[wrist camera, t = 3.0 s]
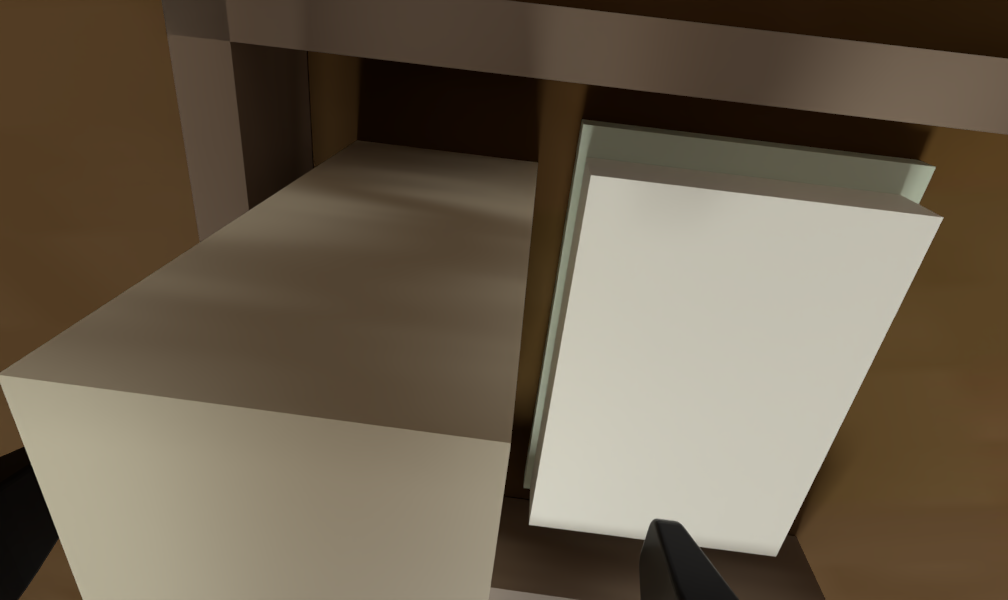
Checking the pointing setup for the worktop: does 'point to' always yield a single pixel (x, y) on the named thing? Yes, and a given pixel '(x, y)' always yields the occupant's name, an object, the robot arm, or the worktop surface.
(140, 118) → the worktop surface
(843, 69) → the rack
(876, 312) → the offcut upper
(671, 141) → the offcut lower
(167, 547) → the cream rectangular block
